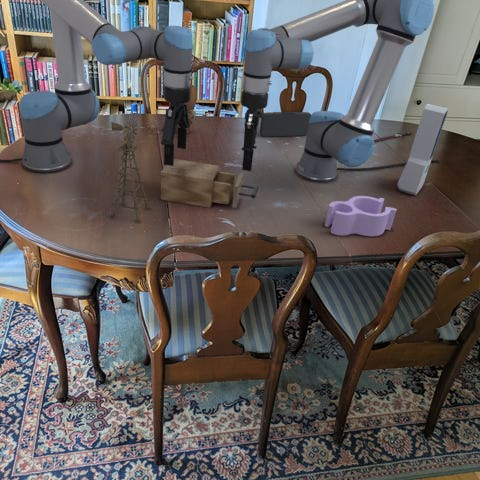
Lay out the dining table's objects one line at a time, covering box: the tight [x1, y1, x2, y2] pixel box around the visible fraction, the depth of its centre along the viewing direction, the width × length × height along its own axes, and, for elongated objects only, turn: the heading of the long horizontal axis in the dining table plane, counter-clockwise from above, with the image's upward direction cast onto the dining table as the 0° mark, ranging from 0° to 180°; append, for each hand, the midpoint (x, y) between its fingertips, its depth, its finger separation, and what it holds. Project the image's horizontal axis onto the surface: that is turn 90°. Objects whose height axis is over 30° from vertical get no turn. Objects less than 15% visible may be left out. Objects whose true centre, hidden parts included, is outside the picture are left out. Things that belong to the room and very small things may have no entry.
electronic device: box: [396, 103, 449, 196], centre depth 162 cm, size 12×8×30 cm, turn 148°
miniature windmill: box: [110, 111, 149, 222], centre depth 129 cm, size 9×8×30 cm
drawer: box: [211, 171, 260, 209], centre depth 146 cm, size 20×10×8 cm, turn 80°
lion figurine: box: [161, 109, 197, 134], centre depth 194 cm, size 15×5×9 cm, turn 110°
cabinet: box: [160, 158, 221, 209], centre depth 147 cm, size 16×11×9 cm
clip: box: [324, 195, 398, 237], centre depth 141 cm, size 20×12×7 cm, turn 109°
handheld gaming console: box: [258, 111, 312, 137], centre depth 202 cm, size 23×3×10 cm, turn 108°
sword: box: [373, 132, 414, 143], centre depth 214 cm, size 31×3×1 cm, turn 126°
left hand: (175, 156), depth 144 cm, fingers open, 13 cm apart
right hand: (246, 169), depth 142 cm, fingers closed
